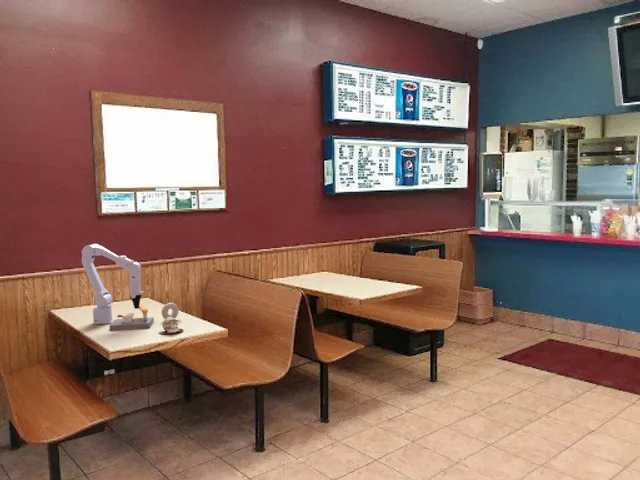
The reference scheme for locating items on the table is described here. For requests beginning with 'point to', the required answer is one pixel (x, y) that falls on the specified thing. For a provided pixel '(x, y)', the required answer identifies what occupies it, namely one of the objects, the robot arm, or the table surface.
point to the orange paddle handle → (143, 309)
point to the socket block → (136, 324)
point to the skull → (170, 326)
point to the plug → (127, 317)
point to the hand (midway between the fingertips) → (136, 308)
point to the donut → (167, 307)
